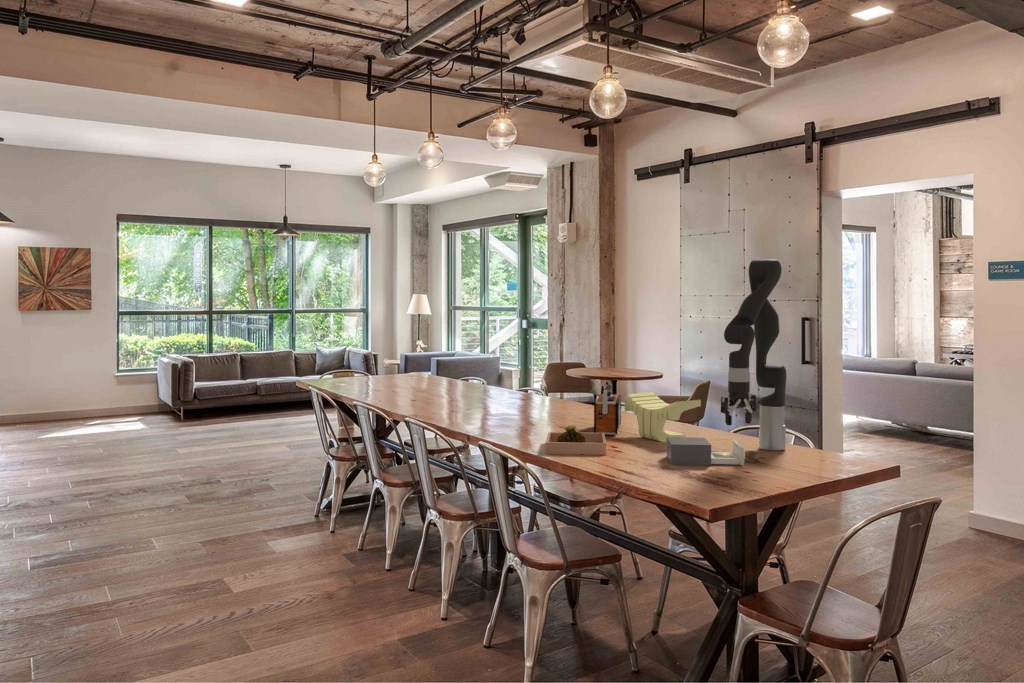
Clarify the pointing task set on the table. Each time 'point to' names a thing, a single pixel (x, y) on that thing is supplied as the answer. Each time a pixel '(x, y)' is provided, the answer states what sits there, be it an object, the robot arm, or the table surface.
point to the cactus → (571, 435)
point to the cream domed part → (723, 455)
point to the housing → (688, 451)
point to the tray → (736, 456)
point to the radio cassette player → (607, 412)
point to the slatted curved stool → (656, 414)
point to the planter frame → (577, 444)
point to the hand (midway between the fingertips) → (738, 424)
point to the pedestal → (752, 456)
